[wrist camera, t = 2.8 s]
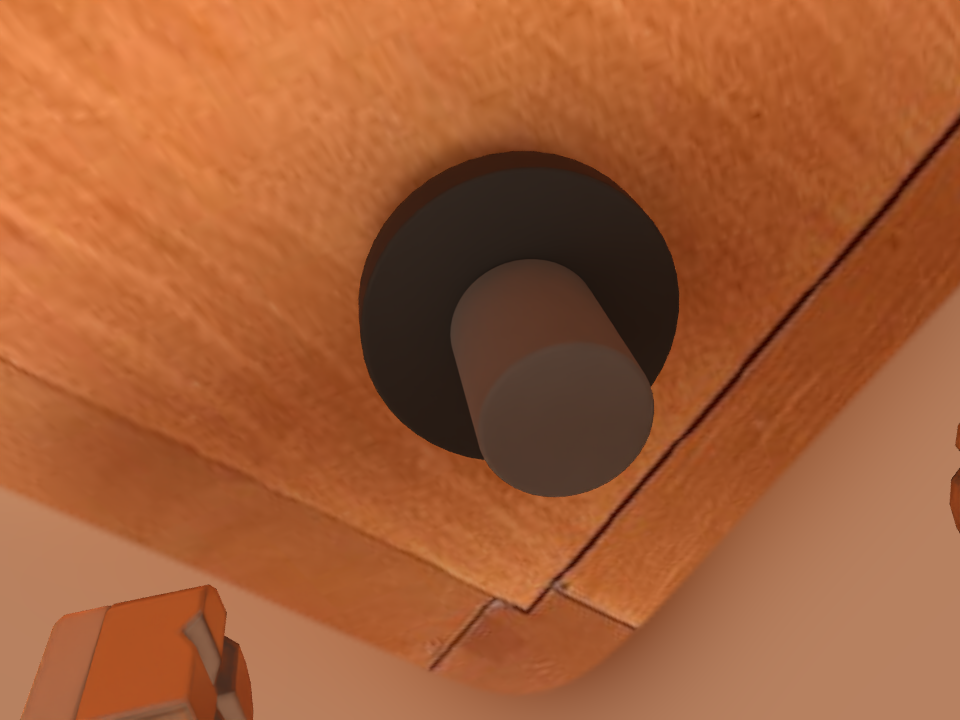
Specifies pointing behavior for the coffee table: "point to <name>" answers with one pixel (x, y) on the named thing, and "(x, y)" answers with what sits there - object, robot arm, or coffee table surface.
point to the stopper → (522, 319)
